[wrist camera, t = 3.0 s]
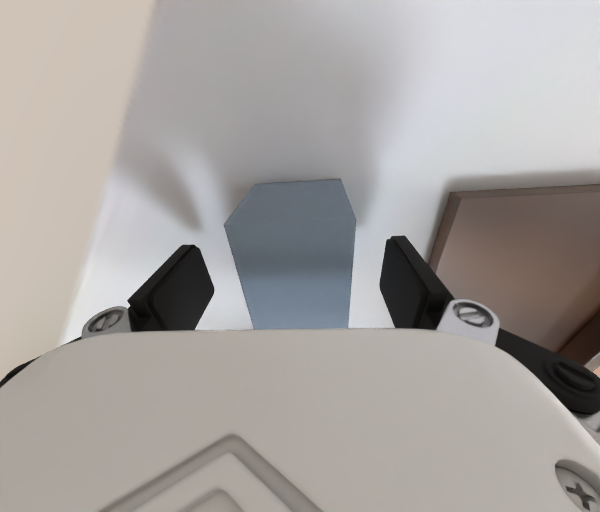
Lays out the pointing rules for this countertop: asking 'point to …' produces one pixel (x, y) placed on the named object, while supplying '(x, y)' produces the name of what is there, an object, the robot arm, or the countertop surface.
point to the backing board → (528, 263)
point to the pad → (295, 254)
